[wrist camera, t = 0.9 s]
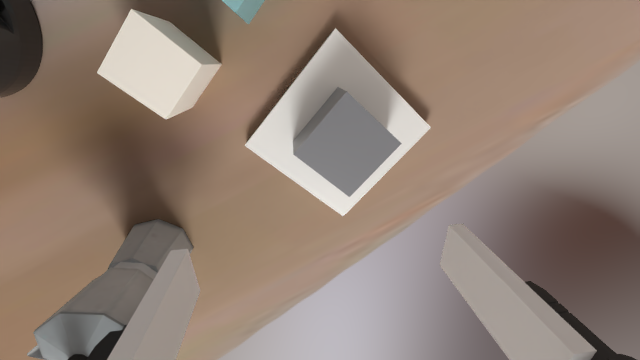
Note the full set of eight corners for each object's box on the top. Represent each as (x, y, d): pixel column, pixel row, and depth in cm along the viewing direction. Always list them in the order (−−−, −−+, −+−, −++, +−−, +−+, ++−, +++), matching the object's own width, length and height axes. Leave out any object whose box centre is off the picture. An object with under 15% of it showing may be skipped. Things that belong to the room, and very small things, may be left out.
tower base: (246, 142, 32) (236, 160, 26) (333, 29, 28) (344, 21, 22) (341, 210, 38) (350, 238, 32) (425, 124, 34) (453, 138, 28)
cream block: (141, 70, 28) (96, 72, 22) (169, 21, 26) (131, 8, 20) (192, 107, 30) (166, 119, 24) (221, 64, 28) (201, 64, 22)
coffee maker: (133, 278, 39) (18, 436, 22) (99, 231, 35) (-69, 378, 19) (230, 254, 39) (187, 394, 22) (207, 204, 35) (134, 328, 19)
